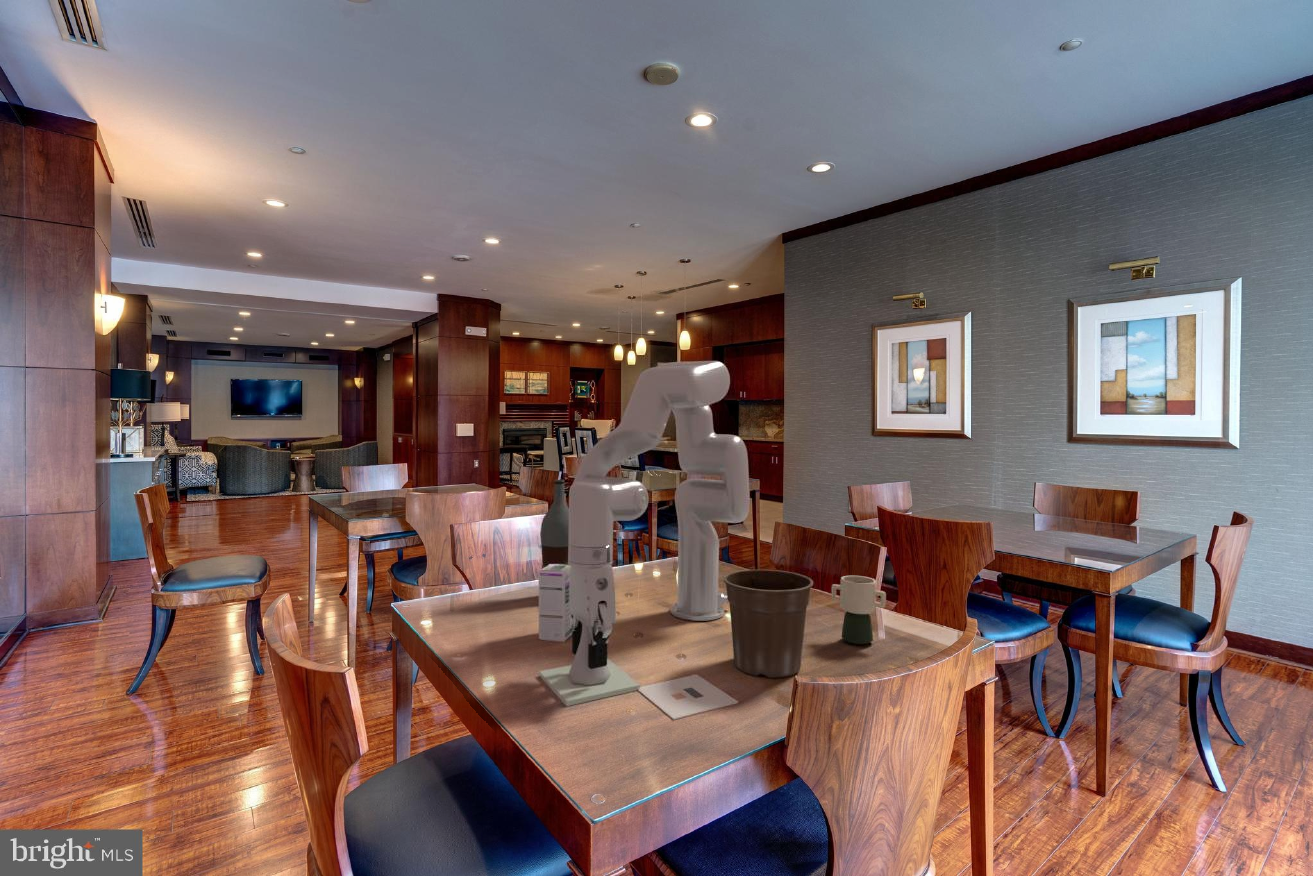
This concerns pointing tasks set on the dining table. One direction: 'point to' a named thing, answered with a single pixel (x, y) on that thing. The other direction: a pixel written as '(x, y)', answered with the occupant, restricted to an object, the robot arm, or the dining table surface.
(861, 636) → the character mug
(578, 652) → the flask
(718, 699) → the white flat square
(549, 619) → the syrup box
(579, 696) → the coaster
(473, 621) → the dining table surface
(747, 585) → the plant pot
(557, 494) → the bottle
